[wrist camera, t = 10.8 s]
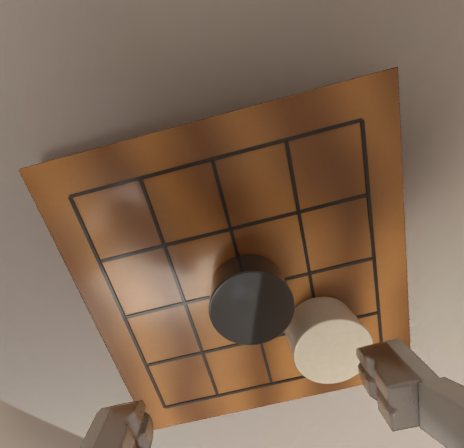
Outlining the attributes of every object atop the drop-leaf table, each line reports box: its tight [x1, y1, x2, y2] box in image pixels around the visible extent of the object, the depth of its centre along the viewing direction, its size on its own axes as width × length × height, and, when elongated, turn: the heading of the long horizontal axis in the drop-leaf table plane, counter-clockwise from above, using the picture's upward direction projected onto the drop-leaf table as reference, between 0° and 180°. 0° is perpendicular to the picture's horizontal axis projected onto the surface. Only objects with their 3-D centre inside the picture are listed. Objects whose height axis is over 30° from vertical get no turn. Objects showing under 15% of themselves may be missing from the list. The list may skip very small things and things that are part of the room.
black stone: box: [209, 254, 295, 345], centre depth 13 cm, size 5×5×2 cm
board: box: [19, 67, 410, 430], centre depth 15 cm, size 20×20×2 cm
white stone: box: [285, 297, 373, 384], centre depth 14 cm, size 5×5×2 cm
